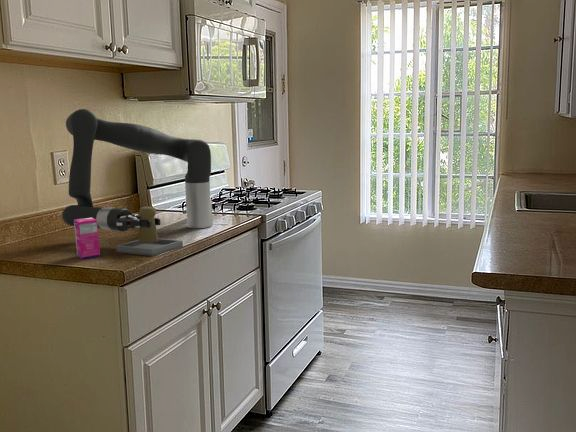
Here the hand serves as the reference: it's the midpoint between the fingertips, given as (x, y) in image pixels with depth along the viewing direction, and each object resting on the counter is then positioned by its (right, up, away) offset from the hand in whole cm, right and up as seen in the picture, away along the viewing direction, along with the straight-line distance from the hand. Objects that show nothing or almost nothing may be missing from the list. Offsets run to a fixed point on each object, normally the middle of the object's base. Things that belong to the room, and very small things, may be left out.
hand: (154, 222), depth 187 cm
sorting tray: (-2, -8, +3) cm, 9 cm away
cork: (-2, -6, +2) cm, 7 cm away
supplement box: (-19, -10, -5) cm, 22 cm away
